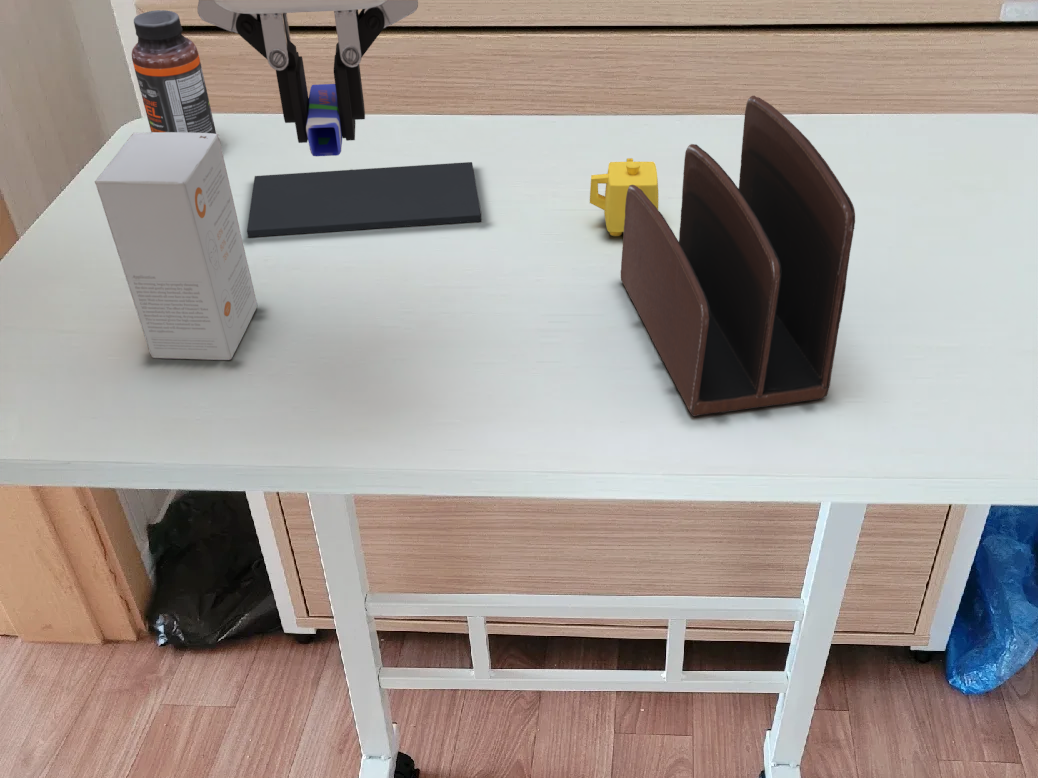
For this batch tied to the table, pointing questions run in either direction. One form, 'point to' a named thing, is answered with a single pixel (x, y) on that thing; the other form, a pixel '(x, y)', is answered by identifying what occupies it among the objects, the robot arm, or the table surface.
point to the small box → (179, 243)
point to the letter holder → (745, 271)
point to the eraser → (323, 121)
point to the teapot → (623, 190)
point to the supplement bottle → (170, 75)
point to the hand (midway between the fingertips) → (327, 130)
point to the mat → (363, 199)
